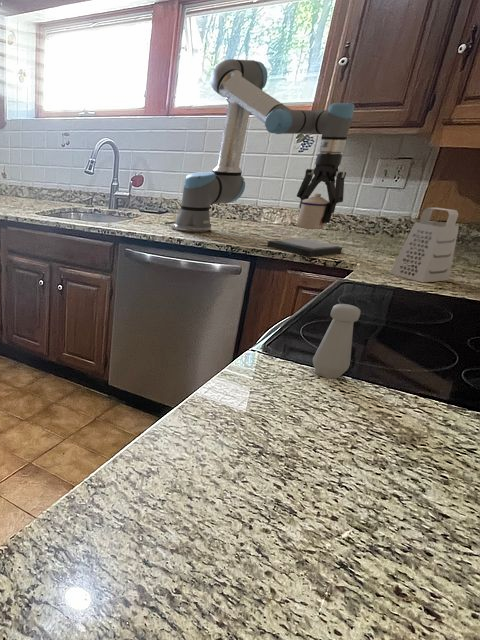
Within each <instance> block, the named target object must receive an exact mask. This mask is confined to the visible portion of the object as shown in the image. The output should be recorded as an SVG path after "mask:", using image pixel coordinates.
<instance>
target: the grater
mask: <svg viewBox="0 0 480 640" xmlns="http://www.w3.org/2000/svg"><path fill="white" fill-rule="evenodd" d="M435 210H440V211H446V212H447V213H448V216H447V219H446V223H445V222H439V221H431V217H432V214H433V211H435ZM422 211H423V212H422V214H421V217H420V220H419V221H416V222H414V223H413V226H412V227H411V229H410V231H409V233H408V234H407V238H406V239H405V241H404V243H403V245H402V247H401V249H400V251H399V253H398V255H397V257H396V259H395V261H394V263H393V264H392V267H391V269H390V270H389V274H390V275H393V276H398V277H401V278H404V279H409V280H412V281H416V282H420V283H430V282H431V283H432V282H442V281H443V282H444V281H450V276H451V272H452V271H451V270H452V267H453V266H452V265H453V260H454V254H455V249H456V245H457V240H458V233H459V229H460V225H458V224H457V225H456V223H457V220H458V218H459V211H458V210H456V209H450V208H443V207H427V208H425V209H424V210H422ZM415 249H416V250H415ZM404 264H405V265H404ZM409 273H410V274H409ZM413 274H414V275H413Z"/></svg>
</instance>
